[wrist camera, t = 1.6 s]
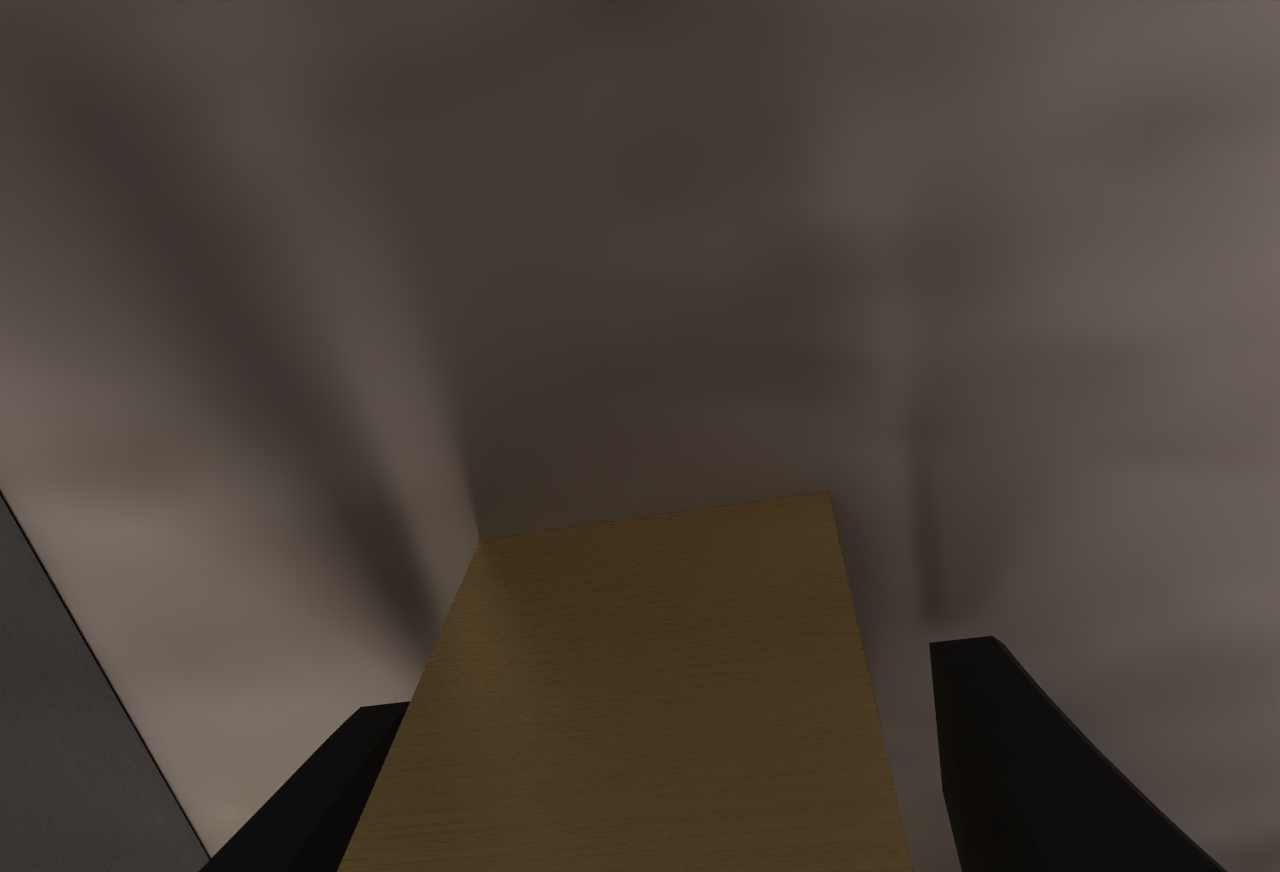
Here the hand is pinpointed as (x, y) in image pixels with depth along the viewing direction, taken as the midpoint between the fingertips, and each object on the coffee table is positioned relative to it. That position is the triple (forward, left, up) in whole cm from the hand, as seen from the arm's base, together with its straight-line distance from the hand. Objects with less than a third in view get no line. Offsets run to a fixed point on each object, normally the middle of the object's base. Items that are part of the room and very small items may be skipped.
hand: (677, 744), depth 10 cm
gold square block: (0, 0, -2) cm, 2 cm away
